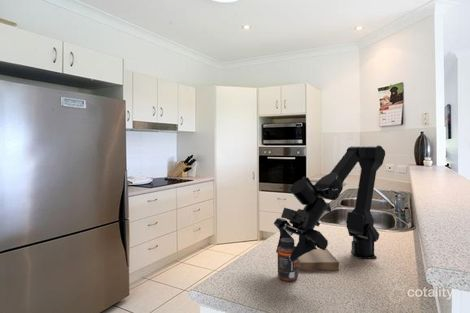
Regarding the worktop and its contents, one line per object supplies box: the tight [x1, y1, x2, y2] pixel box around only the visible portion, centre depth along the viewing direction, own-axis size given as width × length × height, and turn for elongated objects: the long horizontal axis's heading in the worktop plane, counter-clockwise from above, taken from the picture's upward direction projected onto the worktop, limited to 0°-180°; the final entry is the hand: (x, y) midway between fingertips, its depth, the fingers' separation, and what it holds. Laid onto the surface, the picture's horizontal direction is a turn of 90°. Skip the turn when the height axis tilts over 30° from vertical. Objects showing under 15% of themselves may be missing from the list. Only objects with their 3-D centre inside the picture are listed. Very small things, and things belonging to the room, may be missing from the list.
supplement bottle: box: [277, 237, 299, 282], centre depth 84 cm, size 6×6×11 cm
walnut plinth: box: [298, 248, 340, 271], centre depth 95 cm, size 12×12×2 cm
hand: (283, 256), depth 83 cm, fingers closed on supplement bottle, 6 cm apart
